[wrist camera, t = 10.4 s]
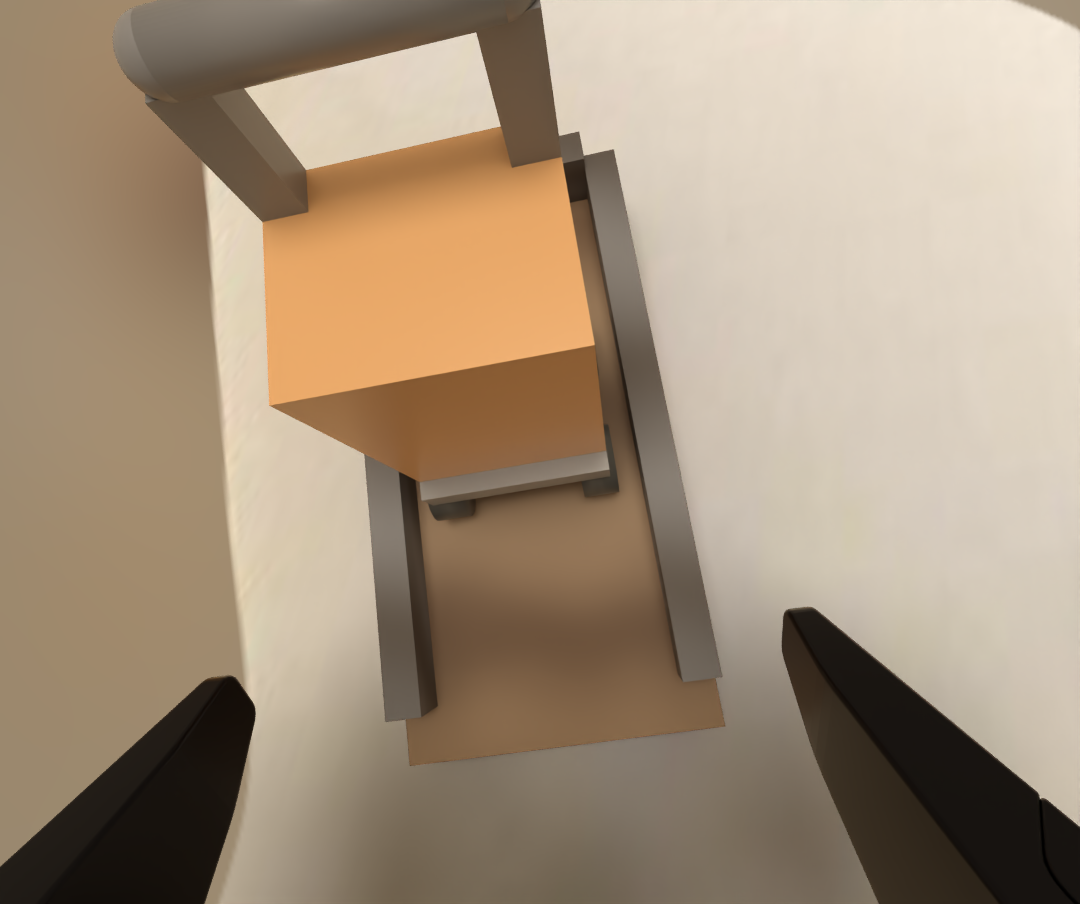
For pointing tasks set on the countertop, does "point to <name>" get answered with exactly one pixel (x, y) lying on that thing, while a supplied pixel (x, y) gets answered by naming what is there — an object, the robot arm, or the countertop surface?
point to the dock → (555, 561)
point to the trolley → (401, 243)
